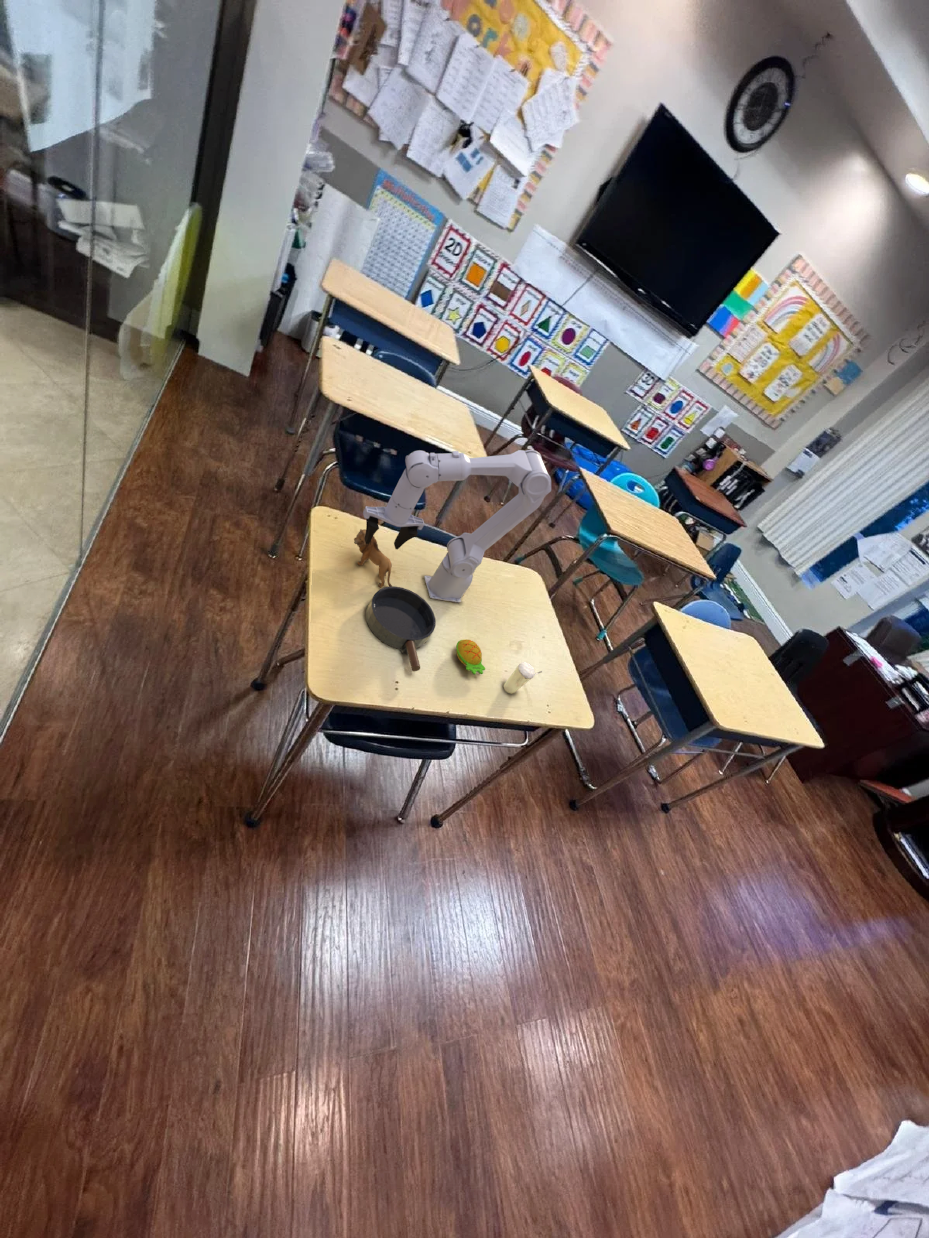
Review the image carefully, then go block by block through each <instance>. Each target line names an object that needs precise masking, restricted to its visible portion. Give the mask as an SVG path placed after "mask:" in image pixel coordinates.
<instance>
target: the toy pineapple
mask: <svg viewBox="0 0 929 1238" xmlns="http://www.w3.org/2000/svg"><path fill="white" fill-rule="evenodd" d="M455 649H456V650H455V651H456V652H455V653H456V657H457V659H458V660H459V661H460V662H461V664H463V665H464V666H465V670H466V671H468V672H471V674H472V675H476V674H477V673H478V674H479V675H483V674H484V671H485V670H486V666H484V665H483V663H482V662H483V654H482V649H481V647H480V646H479V645H478V643H476V642H475V641H474V640H472V639H467V638H465V639H460V640H458V641H457V643H456V646H455Z"/></svg>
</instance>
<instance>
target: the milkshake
mask: <svg viewBox="0 0 929 1238" xmlns="http://www.w3.org/2000/svg"><path fill="white" fill-rule="evenodd" d="M541 673H543V670H540V671H537V672H535V668H534V666H533V665H531V664H530V663H529V662H526V661H521V662H520V663H518V664H517V666H516V668H515V669H514V670H513V672H512V673H511V675H510V676H509V677H508V678H507V680H506V681H505V682H504V684H503V690H504V691H505V692H506V693H508V694H509V695H511V694H512V695H513V694H515V693H516V692H517V691H518V690H520V689H521V688H522V687H523V686H524V685H525V684H526V683H528V682H530V681H531V680H532V679H533V678H534V677H535V676H536V675H539V674H541Z"/></svg>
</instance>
